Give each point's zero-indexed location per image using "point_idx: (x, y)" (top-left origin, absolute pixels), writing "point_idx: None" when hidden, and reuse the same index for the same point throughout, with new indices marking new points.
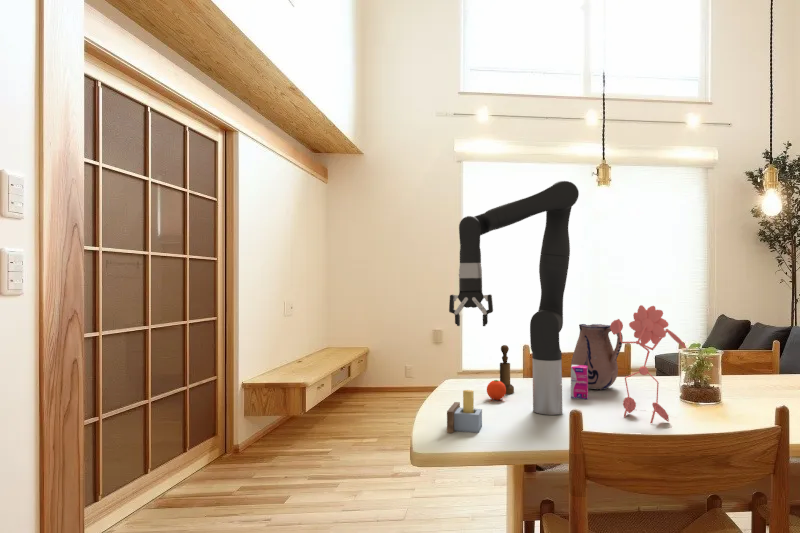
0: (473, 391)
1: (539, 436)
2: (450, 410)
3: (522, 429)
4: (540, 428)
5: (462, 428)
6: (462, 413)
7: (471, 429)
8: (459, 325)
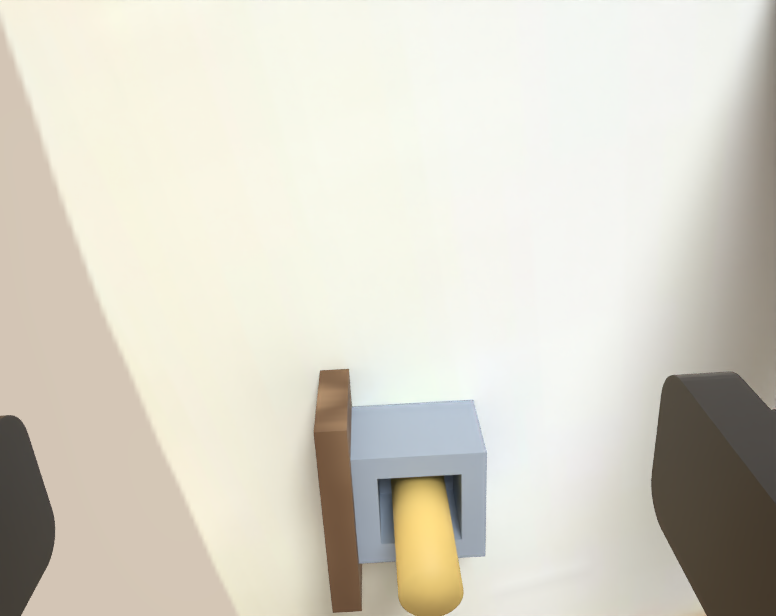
0: (462, 588)
1: None
2: (344, 593)
3: None
4: (766, 352)
5: None
6: None
7: None
8: (34, 475)
